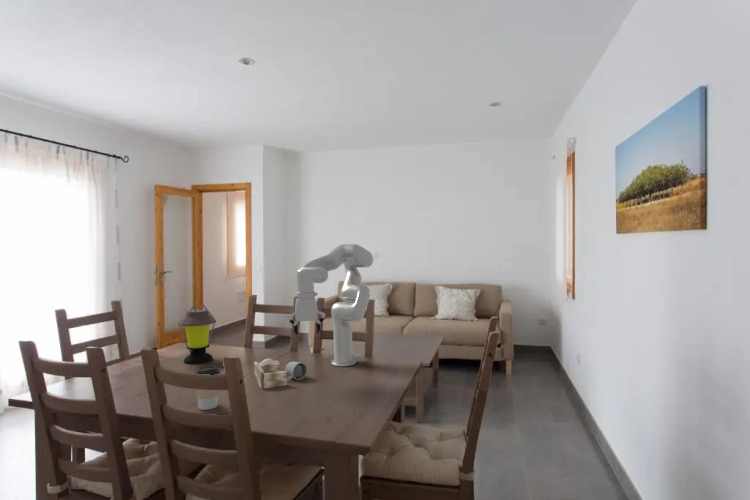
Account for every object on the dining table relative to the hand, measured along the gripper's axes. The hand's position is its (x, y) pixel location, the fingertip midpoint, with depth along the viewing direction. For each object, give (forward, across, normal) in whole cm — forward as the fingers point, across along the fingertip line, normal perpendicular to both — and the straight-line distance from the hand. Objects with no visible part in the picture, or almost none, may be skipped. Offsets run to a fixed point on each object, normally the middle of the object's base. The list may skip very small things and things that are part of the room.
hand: (307, 333), depth 202 cm
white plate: (+21, +18, -10) cm, 29 cm away
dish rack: (+21, +17, -3) cm, 27 cm away
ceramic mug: (+21, +7, -2) cm, 23 cm away
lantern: (+21, +54, -51) cm, 78 cm away
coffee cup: (+20, +41, +23) cm, 51 cm away
